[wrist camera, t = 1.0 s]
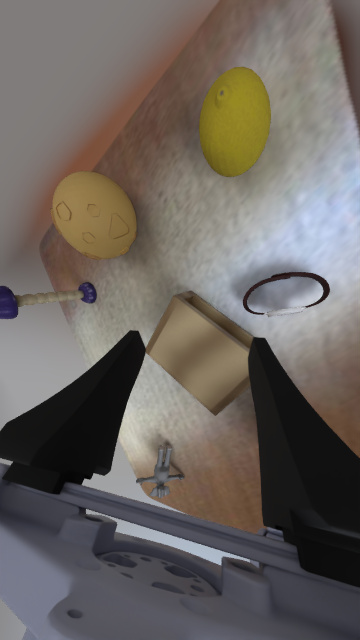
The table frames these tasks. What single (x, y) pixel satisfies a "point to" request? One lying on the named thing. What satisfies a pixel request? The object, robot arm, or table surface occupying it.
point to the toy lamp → (41, 299)
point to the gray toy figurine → (161, 474)
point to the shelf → (202, 351)
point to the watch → (285, 276)
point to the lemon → (235, 122)
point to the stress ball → (94, 215)
